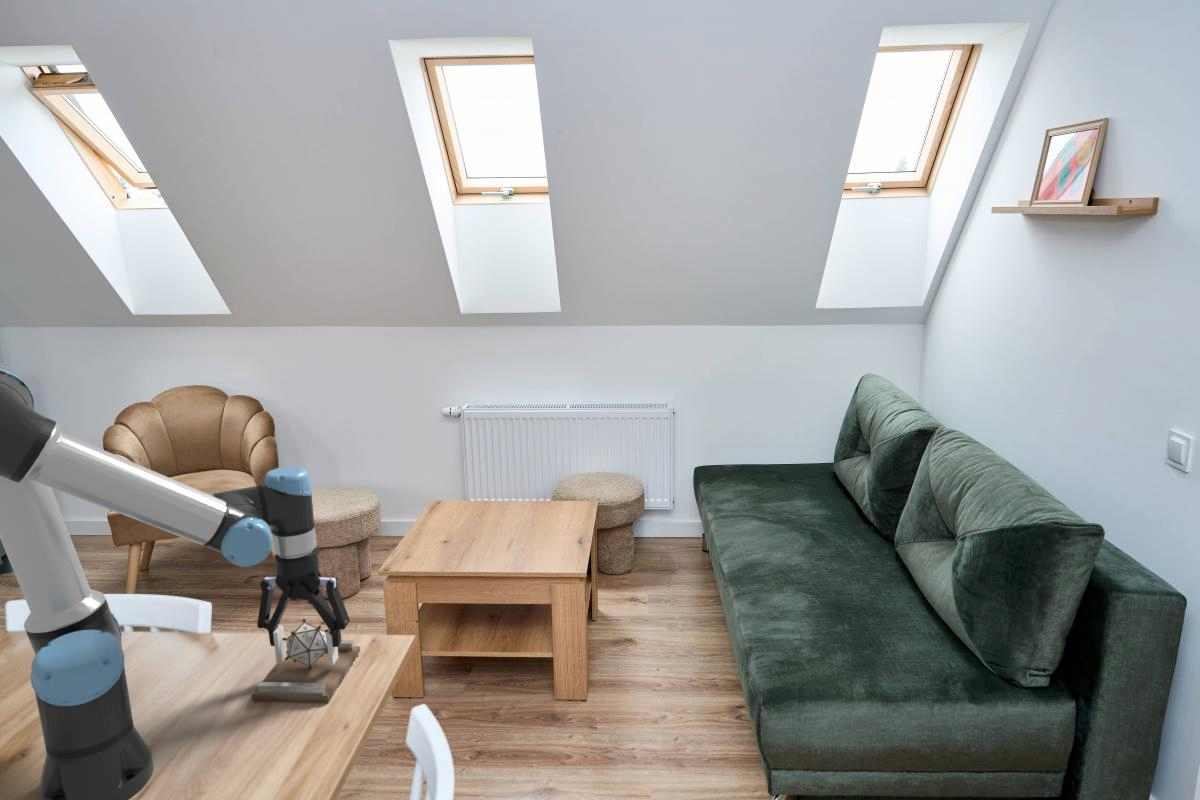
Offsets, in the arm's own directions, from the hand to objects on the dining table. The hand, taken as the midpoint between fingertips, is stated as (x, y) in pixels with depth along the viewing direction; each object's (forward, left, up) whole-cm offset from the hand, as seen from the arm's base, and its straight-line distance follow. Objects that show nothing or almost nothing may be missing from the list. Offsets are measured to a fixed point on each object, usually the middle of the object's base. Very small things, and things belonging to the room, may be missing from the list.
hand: (307, 660), depth 160 cm
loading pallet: (0, 0, -3) cm, 3 cm away
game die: (0, 0, -1) cm, 1 cm away
